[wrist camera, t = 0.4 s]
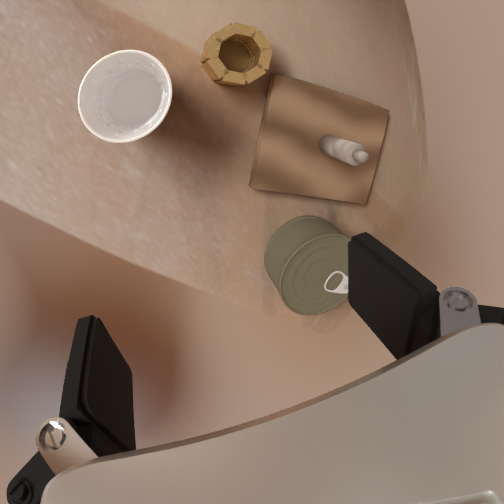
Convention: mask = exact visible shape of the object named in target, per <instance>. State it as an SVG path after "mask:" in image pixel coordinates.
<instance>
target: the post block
mask: <svg viewBox="0 0 504 504" xmlns="http://www.w3.org/2000/svg"><path fill="white" fill-rule="evenodd" d="M388 116H389V110H387V109H384V108H382V107H379V106H377V105H374V104H372V103H369V102H366V101H364V100H361V99H358V98H355V97H353V96H350V95H347V94H344V93H341V92H338V91H335V90H332V89H329V88H326V87H322V86H319V85H316V84H312V83H309V82H306V81H302V80H298V79H295V78H291V77H287V76H283V75H279V74H271V78H270V82H269V87H268V92H267V97H266V102H265V107H264V112H263V117H262V122H261V126H260V131H259V136H258V141H257V146H256V152H255V157H254V162H253V167H252V172H251V177H250V182H249V186H250V187H251V188H252V189H258V190H267V191H275V192H283V193H291V194H298V195H305V196H313V197H319V198H326V199H333V200H339V201H346V202H352V203H358V204H364V205H366V201H367V198H368V194H369V191H370V187H371V184H372V180H373V177H374V173H375V169H376V165H377V162H378V158H379V154H380V150H381V146H382V142H383V138H384V133H385V129H386V125H387V120H388Z"/></svg>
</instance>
